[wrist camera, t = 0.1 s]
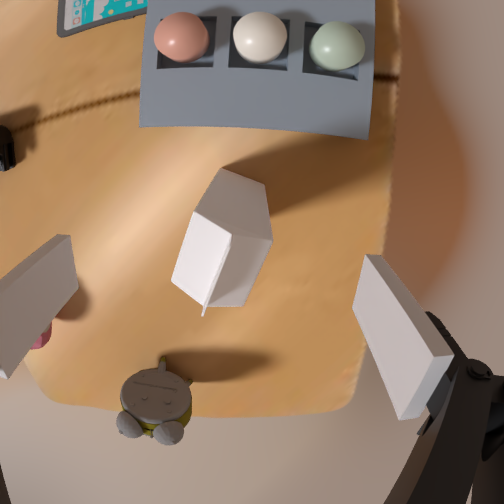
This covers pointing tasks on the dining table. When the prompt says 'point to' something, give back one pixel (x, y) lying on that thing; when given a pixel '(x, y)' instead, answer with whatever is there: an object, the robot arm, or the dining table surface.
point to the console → (259, 72)
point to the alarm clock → (155, 405)
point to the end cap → (6, 149)
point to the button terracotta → (182, 37)
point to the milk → (225, 242)
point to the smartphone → (94, 13)
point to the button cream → (259, 37)
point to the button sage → (336, 46)
